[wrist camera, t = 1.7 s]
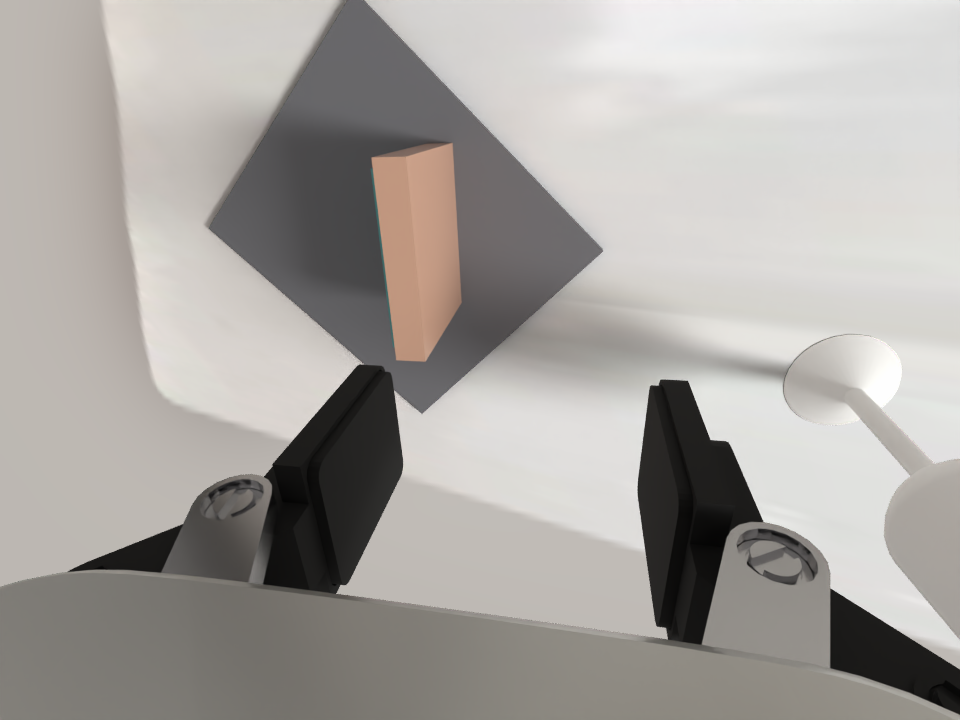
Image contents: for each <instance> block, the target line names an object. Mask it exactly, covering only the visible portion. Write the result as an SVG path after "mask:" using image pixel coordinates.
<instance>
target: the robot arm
mask: <svg viewBox="0 0 960 720" xmlns="http://www.w3.org/2000/svg"><path fill="white" fill-rule="evenodd" d="M402 470H403V457H402V449H401V441H400V434H399V426H398V418H397V410H396V403H395V395H394V387H393V380H392V375H391V373H390V372H385V369H384V367H383V366H379V365H358V366H357V367H356V368H355V369H354V370H353V372H352V373H351V374H350V375H349V376H348V377H347V378H346V380H345V381H344V382H343V383H342V384H341V385H340V387H339V388H338V389H337V390H336V391H335V392H334V394H333V395H332V396H331V397H330V398H329V399H328V400H327V402H326V403H325V404H324V405H323V406H322V407H321V409H320V410H319V411H318V412H317V413H316V414H315V416H314V417H313V418H312V419H311V420H310V421H309V422H308V424H307V425H306V426H305V427H304V428H303V429H302V431H301V432H300V433H299V434H298V435H297V436H296V438H295V439H294V440H293V441H292V442H291V443H290V444H289V446H288V447H287V448H286V449H285V450H284V452H283V453H282V454H281V455H280V456H279V457H278V458H277V460H276V461H275V462H274V463H273V467H272V468H271V469H270V470H269V472H268V473H267V474H266V475H265V476H264V477H262V476H259V475H253V474H250V475H249V474H248V475H238V476H234V477H229V478H227V479H224V480H222V481H219V482H217V483H215V484H214V485H212V486H210V487H209V488H207V489H206V490H204V491H203V492H202V493H201V494H200V495H199V496H198V497H197V498H196V500H195V501H194V503H193V505H192V506H191V508H190V511H189V513H188V515H187V517H186V519H185V521H184V524H182V525H180V526H177V527H175V528H173V529H170V530H167V531H164V532H162V533H160V534H157V535H155V536H152V537H150V538H147V539H144V540H142V541H139V542H137V543H134V544H132V545H129V546H127V547H124V548H122V549H119V550H117V551H114V552H112V553H109V554H107V555H104V556H101V557H99V558H96V559H94V560H91V561H89V562H86V563H84V564H82V565H80V566H78V567H76V568H74V569H72V570H70V571H68V572H65V573H57V574H52V575H47V576H42V577H37V578H32V579H27V580H22V581H18V582H15V583H12V584H8V585H5V586H2V587H0V720H960V669H958V668H956V667H955V666H953V665H952V664H950V663H948V662H947V661H945V660H944V659H942V658H941V657H939V656H937V655H936V654H934V653H932V652H931V651H929V650H928V649H926V648H924V647H923V646H921V645H920V644H918V643H917V642H915V641H913V640H912V639H910V638H909V637H907V636H905V635H904V634H902V633H901V632H899V631H897V630H896V629H894V628H893V627H891V626H889V625H888V624H886V623H885V622H883V621H881V620H880V619H878V618H877V617H875V616H874V615H872V614H870V613H869V612H867V611H866V610H864V609H862V608H861V607H859V606H858V605H856V604H854V603H853V602H851V601H850V600H848V599H846V598H845V597H843V596H842V595H840V594H838V593H837V592H835V591H834V590H832V589H830V570H829V566H828V562H827V561H826V559H825V558H824V556H823V555H822V553H821V552H820V550H819V549H817V548H816V547H815V546H814V545H813V544H812V543H811V542H810V541H809V540H807V539H805V538H804V537H802V536H801V535H799V534H797V533H796V532H794V531H791V530H789V529H786V528H784V527H782V526H779V525H774V524H770V523H765V522H763V520H762V518H761V515H760V513H759V511H758V508H757V506H756V504H755V501H754V499H753V497H752V494H751V492H750V490H749V487H748V485H747V483H746V480H745V478H744V476H743V473H742V471H741V469H740V467H739V464H738V462H737V460H736V457H735V455H734V453H733V450H732V448H731V446H730V444H729V443H728V442H726V441H714V440H710V438H709V435H708V433H707V430H706V427H705V425H704V422H703V419H702V417H701V414H700V411H699V409H698V406H697V403H696V401H695V398H694V396H693V393H692V390H691V388H690V385H689V383H688V381H680V380H660V383H659V386H653V385H651V386H650V390H649V397H648V405H647V413H646V421H645V429H644V437H643V445H642V453H641V461H640V469H639V477H638V501H639V508H640V515H641V522H642V530H643V537H644V544H645V551H646V558H647V566H648V573H649V580H650V587H651V594H652V601H653V608H654V615H655V622H656V626H657V627H665V628H666V629H667V636H668V640H666V639H660V638H654V637H646V636H639V635H632V634H625V633H618V632H610V631H604V630H597V629H590V628H583V627H576V626H568V625H561V624H554V623H547V622H540V621H532V620H526V619H518V618H512V617H504V616H497V615H490V614H481V613H474V612H467V611H460V610H452V609H446V608H438V607H431V606H423V605H416V604H409V603H401V602H394V601H386V600H379V599H371V598H364V597H356V596H348V595H341V594H336V593H337V591H338V589H339V587H340V585H346V584H347V583H348V582H349V580H350V579H351V576H352V575H353V573H354V571H355V568H356V566H357V564H358V562H359V560H360V558H361V556H362V554H363V552H364V550H365V548H366V546H367V544H368V542H369V540H370V538H371V536H372V534H373V532H374V530H375V528H376V526H377V524H378V522H379V520H380V517H381V515H382V513H383V511H384V509H385V507H386V505H387V503H388V501H389V499H390V497H391V495H392V493H393V491H394V489H395V487H396V485H397V482H398V481H399V479H400V477H401V474H402Z"/></svg>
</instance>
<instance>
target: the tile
mask: <svg viewBox="0 0 960 720" xmlns="http://www.w3.org/2000/svg"><path fill="white" fill-rule="evenodd" d="M371 158H372V167H373V168H371V176H372V184H373V192H374V200H375V208H376V216H377V224H378V232H379V240H380V248H381V256H382V264H383V272H384V280H385V288H386V296H387V304H388V312H389V320H390V328H391V336H392V344H393V347H394V348H395V354H396V360H402V361H422V362H426V360H427V358H428V357H429V355H430V353H431V352H432V350H433V349H434V347H435V345H436V344H437V342H438V340H439V339H440V337H441V336H442V334H443V332H444V331H445V329H446V327H447V326H448V324H449V322H450V321H451V319H452V318H453V316H454V314H455V313H456V311H457V309H458V308H459V306H460V305H461V303H462V301H461V283H460V265H459V248H458V230H457V212H456V195H455V177H454V159H453V143H431V144H423V145H419V146H415V147H411V148H407V149H403V150H399V151H395V152H391V153H387V154H383V155H379V156H375V157H371Z"/></svg>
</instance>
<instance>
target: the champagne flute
mask: <svg viewBox="0 0 960 720" xmlns="http://www.w3.org/2000/svg"><path fill="white" fill-rule="evenodd" d="M901 376H902V367H901V363H900V359H899V357H898V356H897V354H896V352H895V351H894V350H893V349H892V348H891V347H890V346H889V345H888V344H886V343H884V342H883V341H881V340H879V339H876V338H873V337H871V336H865V335H842V336H836V337H832V338H829V339H826V340H823V341H821V342H819V343H817V344H815V345H813V346H811V347H810V348H809V349H807V350H806V351H804V352H803V353H802V354H801V355H800V356H799V357H798V358H797V359H796V360H795V361H794V362H793V364H792V365H791V367H790V368H789V370H788V372H787V375H786V377H785V382H784V395H785V398H786V401H787V403H788V405H789V406H790V408H791V409H792V410H793V411H794V412H795V413H796V414H797V415H798V416H800V417H802V418H803V419H805V420H807V421H810V422H813V423H816V424H822V425H843V424H849V423H853V422H856V421H859V420H862V421H863V422H864V424H865V425H866V426H867V427H868V428H869V429H870V430H871V432H872V433H873V434H874V435H875V436H876V437H877V438H878V440H879V441H880V442H881V443H882V444H883V445H884V446H885V448H886V449H887V450H888V451H889V452H890V453H891V454H892V455H893V457H894V458H895V459H896V460H897V461H898V462H899V463H900V465H901V466H902V467H903V468H904V469H905V470H906V471H907V473H908V474H909V475H910V477H909V478H908V479H906V480H905V481H904V482H903V483H902V484H901V485H900V486H899V487H898V488H897V490H896V491H895V493H894V494H893V496H892V498H891V501H890V503H889V506H888V509H887V512H886V515H885V525H884V538H885V541H886V545H887V548H888V551H889V554H890V555H891V557H892V559H893V560H894V562H895V563H896V564H897V566H898V567H899V568H900V569H901V570H902V572H903V573H904V574H905V575H906V576H907V578H908V579H909V580H910V581H911V582H912V584H913V585H914V586H915V587H916V588H917V589H918V591H919V592H920V593H921V594H922V595H923V597H924V598H925V599H926V600H927V601H928V603H929V604H930V605H931V606H932V607H933V609H934V610H935V611H936V612H937V613H938V614H939V616H940V617H941V618H942V619H943V620H944V622H945V623H946V624H947V625H948V626H949V628H950V629H951V630H952V631H953V632H954V634H955V635H956V636H957V637H958V638H959V639H960V459H954V460H949V461H944V462H940V463H936V464H935V463H934V462H933V461H932V460H931V459H930V458H929V457H928V456H927V455H926V454H925V453H924V452H923V451H922V450H921V449H920V448H919V447H918V445H917V444H916V443H915V442H914V441H913V440H912V439H911V438H910V437H909V436H908V435H907V434H906V433H905V432H904V431H903V430H902V429H901V428H900V427H899V426H898V425H897V424H896V423H895V422H894V421H893V420H892V419H891V418H890V417H889V416H888V415H887V414H886V413H885V412H884V411H883V410H882V409H881V408H882V407H883V406H885V405H886V404H887V403H888V402H889V401H890V399H891V398H892V397H893V396H894V394H895V392H896V391H897V389H898V387H899V384H900V381H901Z"/></svg>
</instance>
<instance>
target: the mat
mask: <svg viewBox="0 0 960 720" xmlns="http://www.w3.org/2000/svg"><path fill="white" fill-rule="evenodd" d="M431 143H453V159H454V177H455V195H456V212H457V230H458V248H459V265H460V283H461V301H462V303H461V305H460V306H459V308H458V309H457V311H456V313H455V314H454V316H453V318H452V319H451V321H450V322H449V324H448V326H447V327H446V329H445V331H444V332H443V334H442V336H441V337H440V339H439V340H438V342H437V344H436V345H435V347H434V349H433V350H432V352H431V353H430V355H429V357H428V358H427V360H426V362H422V361H402V360H396V354H395V348H394V347H393V344H392V336H391V328H390V320H389V312H388V304H387V296H386V288H385V280H384V272H383V264H382V256H381V248H380V240H379V232H378V224H377V216H376V208H375V200H374V192H373V184H372V176H371V168H373V167H372V158H371V157H375V156H379V155H383V154H387V153H391V152H395V151H399V150H403V149H407V148H411V147H415V146H419V145H423V144H431ZM209 229H210V230H211V231H212V232H213V233H215V234H216V235H217V236H218V237H219V238H220V239H222V240H223V241H224V242H225V243H226V244H227V245H228V246H230V247H231V248H232V249H233V250H234V251H235V252H236V253H238V254H239V255H240V256H241V257H242V258H243V259H245V260H246V261H247V262H248V263H249V264H250V265H251V266H253V267H254V268H255V269H256V270H257V271H258V272H259V273H261V274H262V275H263V276H264V277H265V278H266V279H268V280H269V281H270V282H271V283H272V284H273V285H274V286H276V287H277V288H278V289H279V290H280V291H281V292H282V293H284V294H285V295H286V296H287V297H288V298H289V299H291V300H292V301H293V302H294V303H295V304H296V305H297V306H299V307H300V308H301V309H302V310H303V311H304V312H305V313H307V314H308V315H309V316H310V317H311V318H312V319H314V320H315V321H316V322H317V323H318V324H319V325H320V326H322V327H323V328H324V329H325V330H326V331H327V332H328V333H330V334H331V335H332V336H333V337H334V338H335V339H337V340H338V341H339V342H340V343H341V344H342V345H343V346H345V347H346V348H347V349H348V350H349V351H350V352H351V353H353V354H354V355H355V356H356V357H357V358H358V359H360V360H361V361H362V362H363V363H364V364H365V365H379V366H383V367H384V369H385V372H390V373H391V375H392V380H393V387H394V390H395V391H396V392H397V393H399V394H400V395H401V396H402V397H403V398H404V399H405V400H407V401H408V402H409V403H410V404H411V405H412V406H414V407H415V408H416V409H417V410H418V411H419V412H420V413H423V412H424V411H426V410H427V409H428V408H429V407H430V406H431V405H432V404H433V403H435V402H436V401H437V400H438V399H439V398H440V397H441V396H442V395H443V394H445V393H446V392H447V391H448V390H449V389H450V388H451V387H452V386H453V385H455V384H456V383H457V382H458V381H459V380H460V379H461V378H462V377H464V376H465V375H466V374H467V373H468V372H469V371H470V370H471V369H472V368H474V367H475V366H476V365H477V364H478V363H479V362H480V361H481V360H482V359H484V358H485V357H486V356H487V355H488V354H489V353H490V352H491V351H492V350H494V349H495V348H496V347H497V346H498V345H499V344H500V343H501V342H503V341H504V340H505V339H506V338H507V337H508V336H509V335H510V334H511V333H513V332H514V331H515V330H516V329H517V328H518V327H519V326H520V325H521V324H523V323H524V322H525V321H526V320H527V319H528V318H529V317H530V316H532V315H533V314H534V313H535V312H536V311H537V310H538V309H539V308H540V307H542V306H543V305H544V304H545V303H546V302H547V301H548V300H549V299H550V298H552V297H553V296H554V295H555V294H556V293H557V292H558V291H559V290H560V289H562V288H563V287H564V286H565V285H566V284H567V283H568V282H569V281H571V280H572V279H573V278H574V277H575V276H576V275H577V274H578V273H579V272H581V271H582V270H583V269H584V268H585V267H586V266H587V265H588V264H589V263H591V262H592V261H593V260H594V259H595V258H596V257H597V256H598V255H600V254H601V253H602V252H603V249H602V248H601V247H600V246H599V245H598V244H597V243H596V242H595V241H594V240H593V239H592V238H591V237H590V236H589V235H588V234H587V233H586V232H585V231H584V230H583V228H582V227H581V226H580V225H579V224H578V223H577V222H576V221H575V220H574V219H573V218H572V217H571V216H570V215H569V214H568V213H567V212H566V211H565V210H564V209H563V208H562V207H561V205H560V204H559V203H558V202H557V201H556V200H555V199H554V198H553V197H552V196H551V195H550V194H549V193H548V192H547V191H546V190H545V189H544V188H543V187H542V186H541V185H540V184H539V183H538V181H537V180H536V179H535V178H534V177H533V176H532V175H531V174H530V173H529V172H528V171H527V170H526V169H525V168H524V167H523V166H522V165H521V164H520V163H519V162H518V161H517V160H516V158H515V157H514V156H513V155H512V154H511V153H510V152H509V151H508V150H507V149H506V148H505V147H504V146H503V145H502V144H501V143H500V142H499V141H498V140H497V139H496V138H495V137H494V136H493V134H492V133H491V132H490V131H489V130H488V129H487V128H486V127H485V126H484V125H483V124H482V123H481V122H480V121H479V120H478V119H477V118H476V117H475V116H474V115H473V114H472V113H471V111H470V110H469V109H468V108H467V107H466V106H465V105H464V104H463V103H462V102H461V101H460V100H459V99H458V98H457V97H456V96H455V95H454V94H453V93H452V92H451V91H450V90H449V88H448V87H447V86H446V85H445V84H444V83H443V82H442V81H441V80H440V79H439V78H438V77H437V76H436V75H435V74H434V73H433V72H432V71H431V70H430V69H429V68H428V67H427V66H426V64H425V63H424V62H423V61H422V60H421V59H420V58H419V57H418V56H417V55H416V54H415V53H414V52H413V51H412V50H411V49H410V48H409V47H408V46H407V45H406V44H405V43H404V41H403V40H402V39H401V38H400V37H399V36H398V35H397V34H396V33H395V32H394V31H393V30H392V29H391V28H390V27H389V26H388V25H387V24H386V23H385V22H384V21H383V20H382V19H381V17H380V16H379V15H378V14H377V13H376V12H375V11H374V10H373V9H372V8H371V7H370V6H369V5H368V4H367V3H366V2H365V1H364V0H347V2H346V4H345V5H344V7H343V9H342V10H341V12H340V14H339V15H338V17H337V18H336V20H335V22H334V23H333V25H332V27H331V28H330V30H329V32H328V33H327V35H326V36H325V38H324V40H323V41H322V43H321V45H320V46H319V48H318V50H317V51H316V53H315V55H314V56H313V58H312V59H311V61H310V63H309V64H308V66H307V68H306V69H305V71H304V73H303V74H302V76H301V77H300V79H299V81H298V82H297V84H296V86H295V87H294V89H293V91H292V92H291V94H290V95H289V97H288V99H287V100H286V102H285V104H284V105H283V107H282V109H281V110H280V112H279V114H278V115H277V117H276V118H275V120H274V122H273V123H272V125H271V127H270V128H269V130H268V132H267V133H266V135H265V136H264V138H263V140H262V141H261V143H260V145H259V146H258V148H257V150H256V151H255V153H254V154H253V156H252V158H251V159H250V161H249V163H248V164H247V166H246V168H245V169H244V171H243V172H242V174H241V176H240V177H239V179H238V181H237V182H236V184H235V186H234V187H233V189H232V191H231V192H230V194H229V195H228V197H227V199H226V200H225V202H224V204H223V205H222V207H221V209H220V210H219V212H218V213H217V215H216V217H215V218H214V220H213V222H212V223H211V225H210V227H209Z"/></svg>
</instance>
